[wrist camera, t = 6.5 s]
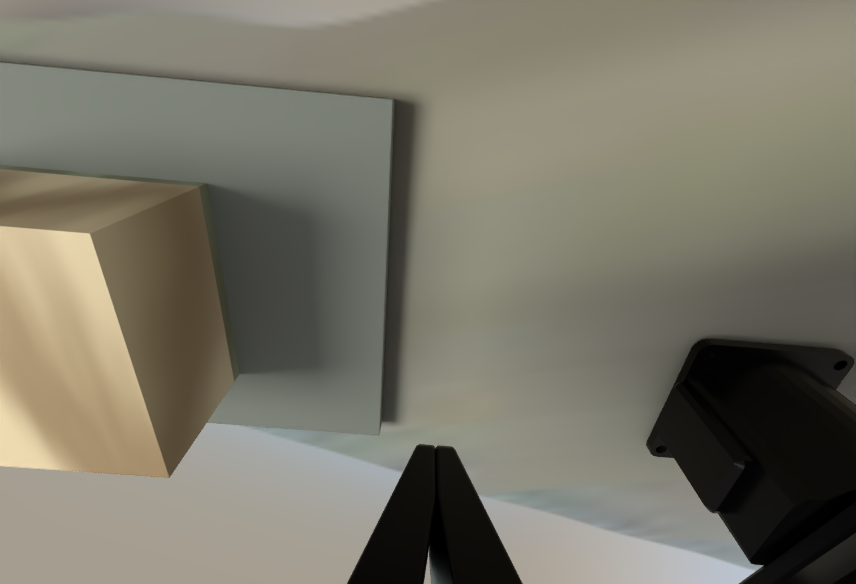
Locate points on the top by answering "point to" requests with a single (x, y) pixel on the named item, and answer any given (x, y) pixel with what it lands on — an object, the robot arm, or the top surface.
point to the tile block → (108, 321)
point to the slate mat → (248, 217)
